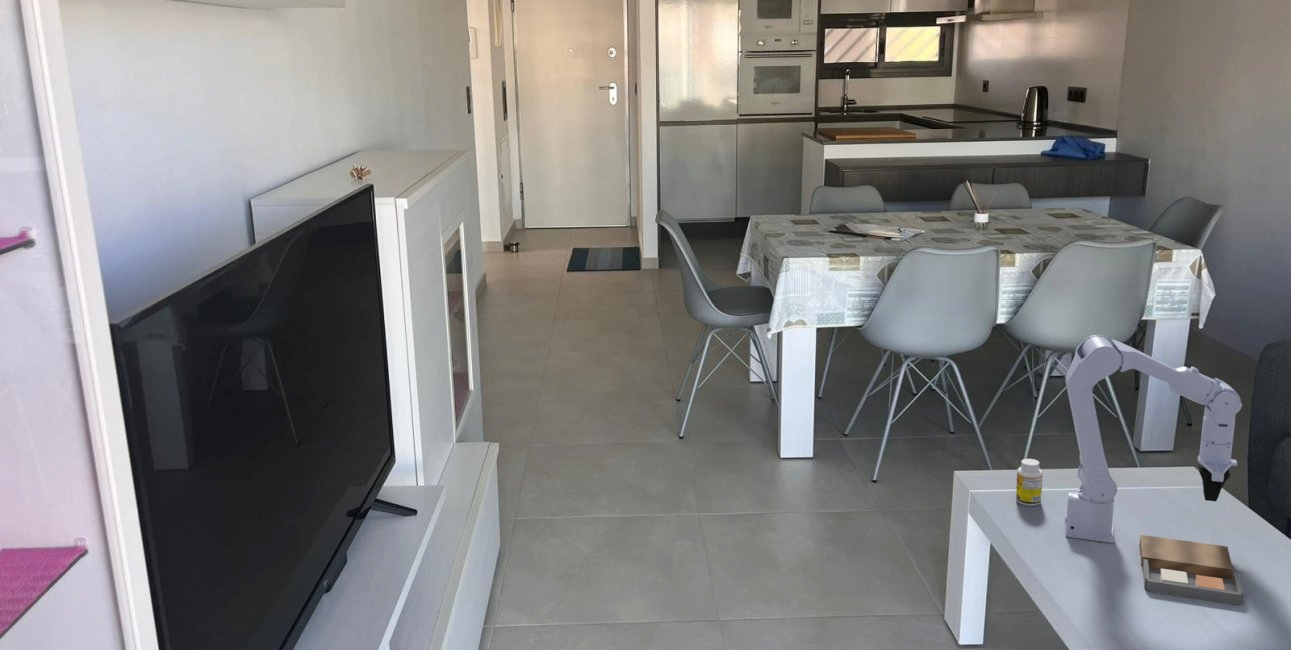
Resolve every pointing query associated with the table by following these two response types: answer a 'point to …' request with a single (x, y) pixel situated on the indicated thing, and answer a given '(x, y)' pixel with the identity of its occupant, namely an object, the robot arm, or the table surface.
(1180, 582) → the tile cream
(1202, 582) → the tile terracotta
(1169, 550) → the plate
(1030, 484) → the supplement bottle
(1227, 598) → the box
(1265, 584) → the table surface
